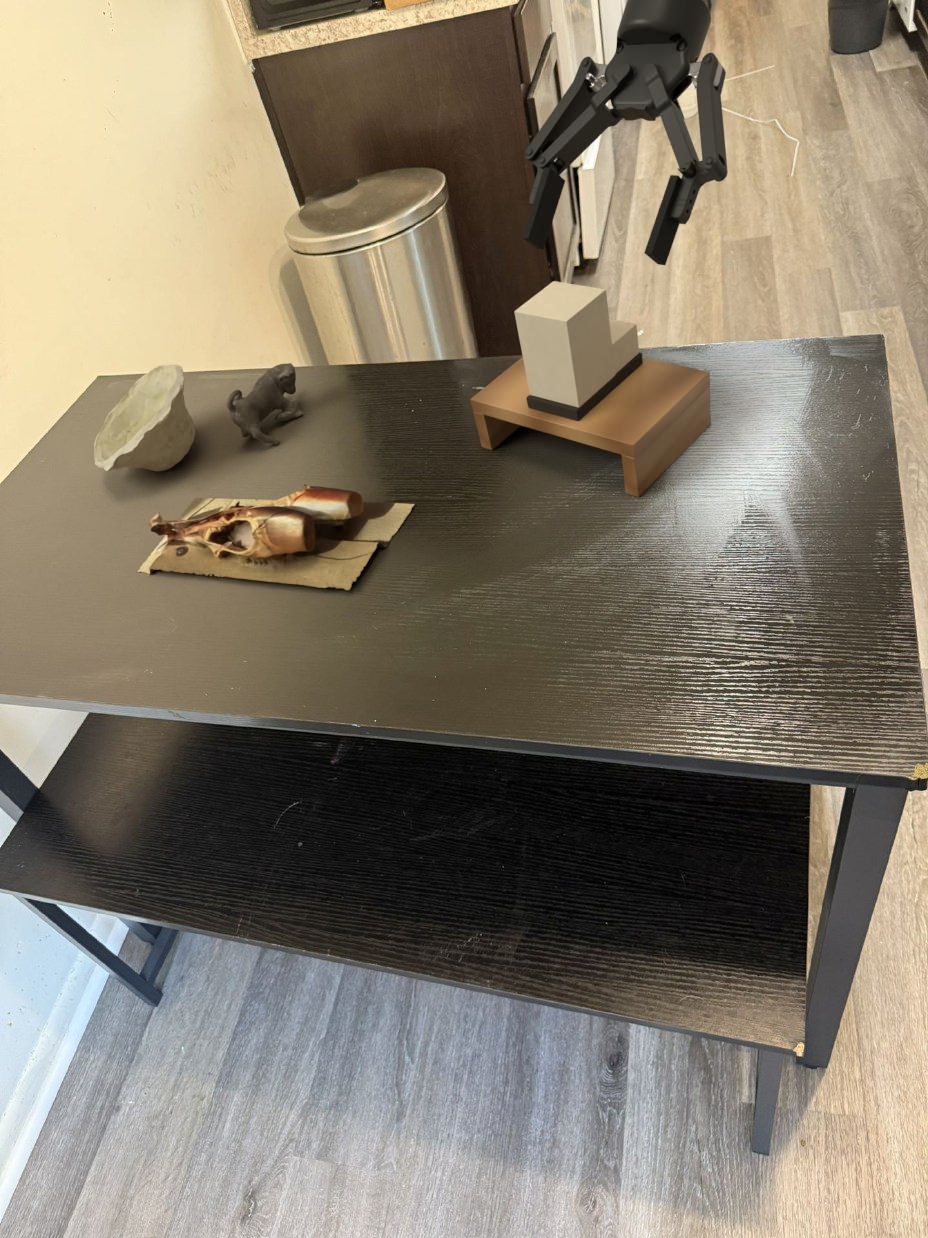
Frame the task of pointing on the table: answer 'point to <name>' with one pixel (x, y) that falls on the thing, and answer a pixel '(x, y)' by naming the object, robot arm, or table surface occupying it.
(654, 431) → the shoe shelf
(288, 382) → the dog figurine
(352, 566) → the ballet pointe shoes
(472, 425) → the table surface
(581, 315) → the beige block black base
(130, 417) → the bowl
